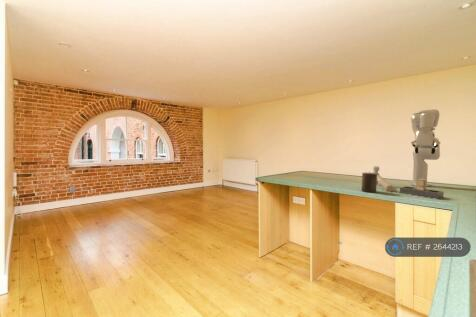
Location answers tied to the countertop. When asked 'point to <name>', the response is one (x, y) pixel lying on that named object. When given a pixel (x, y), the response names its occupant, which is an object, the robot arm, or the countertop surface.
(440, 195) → the rail
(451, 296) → the countertop surface
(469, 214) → the countertop surface
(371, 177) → the pillar candle
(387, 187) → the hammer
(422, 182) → the peg
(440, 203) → the countertop surface
